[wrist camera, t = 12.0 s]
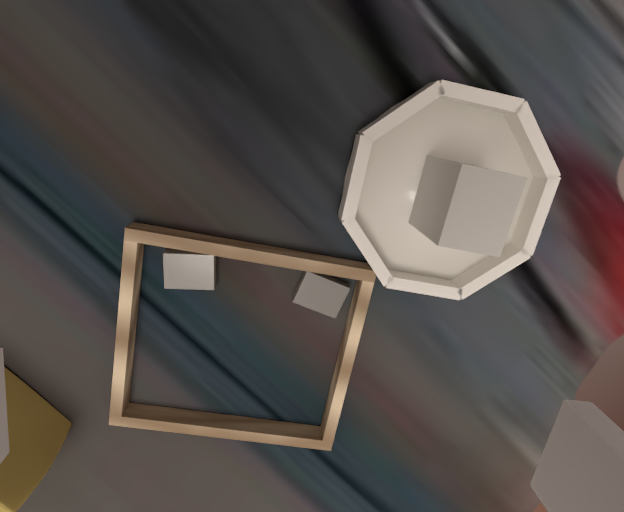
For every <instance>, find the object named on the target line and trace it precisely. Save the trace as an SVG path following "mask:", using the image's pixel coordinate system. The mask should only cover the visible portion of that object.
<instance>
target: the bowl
mask: <svg viewBox="0 0 624 512" xmlns="http://www.w3.org/2000/svg"><path fill="white" fill-rule="evenodd" d="M524 100H525V99H522V98H518V97H514V96H509V95H505V94H501V93H497V92H492V91H488V90H484V89H480V88H475V87H471V86H467V85H463V84H458V83H454V82H450V81H446V80H438V81H434V82H430V83H428V84H427V85H425V86H424V87H422V88H421V89H420V90H418V91H417V92H415V93H414V94H412V95H411V96H409V97H408V98H406V99H405V100H403V101H401V102H399V103H398V104H396V105H394V106H393V107H391V108H390V109H388V110H387V111H386V112H384V113H383V114H382V115H381V116H379V117H378V118H377V119H376V120H374V121H373V122H371V123H370V124H368V125H367V126H365V127H364V128H362V129H361V130H359V131H358V133H359V134H356V136H355V141H354V145H353V150H352V154H351V158H350V160H349V163H348V167H347V170H346V173H345V179H344V186H343V194H342V199H341V203H340V208H339V212H338V215H339V219H340V220H341V222H342V224H343V225H344V227H345V228H346V230H347V231H348V233H349V234H350V236H351V237H352V239H353V240H354V242H355V243H356V245H357V246H358V248H359V249H360V251H361V253H362V254H363V256H364V257H365V259H366V260H367V262H368V263H369V265H370V266H371V268H372V269H373V271H374V272H375V274H376V275H377V277H378V278H379V280H380V281H381V283H382V284H383V286H385V287H386V288H390V289H396V290H402V291H407V292H413V293H419V294H425V295H431V296H437V297H443V298H449V299H455V300H460V298H461V299H462V300H463V299H464V298H466V297H468V296H469V295H471V294H472V293H474V292H476V291H477V290H479V289H481V288H482V287H484V286H485V285H487V284H489V283H490V282H492V281H494V280H495V279H497V278H499V277H500V276H502V275H503V274H505V273H507V272H508V271H510V270H512V269H513V268H515V267H516V266H518V265H520V264H521V263H523V262H525V261H526V260H528V259H530V258H531V257H530V255H532V256H533V253H534V250H535V248H536V245H537V242H538V239H539V237H540V234H541V231H542V228H543V226H544V223H545V220H546V217H547V214H548V212H549V209H550V206H551V203H552V201H553V198H554V195H555V192H556V190H557V187H558V184H559V181H560V179H561V177H558V176H560V175H561V174H560V172H559V170H558V168H557V165H556V163H555V161H554V159H553V157H552V155H551V152H550V150H549V148H548V146H547V144H546V142H545V139H544V137H543V135H542V133H541V131H540V128H539V126H538V124H537V122H536V120H535V118H534V115H533V113H532V111H531V109H530V107H529V105H528V102H527V101H524ZM426 156H432V157H436V158H441V159H446V160H450V161H455V162H460V163H464V164H469V165H474V166H478V167H483V168H487V169H492V170H496V171H501V172H505V173H509V174H514V175H518V176H523V177H527V180H526V183H525V186H524V189H523V192H522V195H521V198H520V201H519V203H518V206H517V209H516V212H515V215H514V218H513V221H512V224H511V227H510V230H509V233H508V236H507V238H506V241H505V244H504V247H503V250H502V253H501V256H500V257H495V256H490V255H484V254H479V253H473V252H468V251H463V250H457V249H452V248H447V247H441V246H437V245H436V244H435V243H434V242H432V241H431V240H430V239H429V238H427V237H426V236H425V235H423V234H422V233H421V232H420V231H418V230H417V229H416V228H415V227H413V226H412V225H411V224H409V223H408V222H409V218H410V215H411V211H412V207H413V204H414V200H415V196H416V193H417V189H418V185H419V182H420V178H421V174H422V171H423V167H424V163H425V160H426Z"/></svg>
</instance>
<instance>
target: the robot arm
mask: <svg viewBox="0 0 624 512" xmlns="http://www.w3.org/2000/svg"><path fill="white" fill-rule="evenodd" d="M8 453H9V436H8V421H7V405H6V389H5V374H4V358H3V348H0V464H1V462H2V461H3V460H4V459H5V457H6V456H7V455H8ZM530 486H531V487H532V489H533V490H534V492H535V493H536V495H537V496H538V498H539V499H540V501H541V502H542V504H543V505H544V507H545V508H546V509H547V511H548V512H624V432H623V431H622V430H621V429H620V428H619V427H618V426H617V425H616V424H615V423H614V422H613V421H611V420H610V419H609V418H608V417H607V416H606V415H605V414H604V413H603V412H602V411H600V409H598V408H597V407H596V406H595V405H594V404H593V403H592V402H584V401H574V400H564V401H563V404H562V406H561V409H560V411H559V413H558V416H557V418H556V421H555V423H554V426H553V428H552V431H551V433H550V436H549V438H548V441H547V443H546V446H545V448H544V451H543V453H542V456H541V458H540V461H539V463H538V466H537V468H536V471H535V473H534V476H533V478H532V481H531V483H530Z"/></svg>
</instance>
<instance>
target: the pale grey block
mask: <svg viewBox="0 0 624 512" xmlns="http://www.w3.org/2000/svg"><path fill="white" fill-rule="evenodd" d="M526 180H527V177H523V176H518V175H514V174H509V173H505V172H501V171H496V170H492V169H487V168H483V167H478V166H474V165H469V164H464V163H460V162H455V161H450V160H446V159H441V158H436V157H432V156H426V160H425V163H424V167H423V171H422V174H421V178H420V182H419V185H418V189H417V193H416V196H415V200H414V204H413V207H412V211H411V215H410V218H409V222H408V223H409V224H411V225H412V226H413V227H415V228H416V229H417V230H418V231H420V232H421V233H422V234H423V235H425V236H426V237H427V238H429V239H430V240H431V241H432V242H434V243H435V244H436V245H437V246H441V247H447V248H452V249H457V250H463V251H468V252H473V253H479V254H484V255H490V256H495V257H500V256H501V253H502V250H503V247H504V244H505V241H506V238H507V236H508V233H509V230H510V227H511V224H512V221H513V218H514V215H515V212H516V209H517V206H518V203H519V201H520V198H521V195H522V192H523V189H524V186H525V183H526Z"/></svg>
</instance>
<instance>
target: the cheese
mask: <svg viewBox="0 0 624 512" xmlns="http://www.w3.org/2000/svg"><path fill="white" fill-rule="evenodd" d="M4 374H5V389H6V405H7V421H8V436H9V453H8V455H7V456H6V457H5V459H4V460H3V461H2V462H1V464H0V512H17V510H18V509H19V508H20V507H21V505H22V504H23V503H24V502H25V500H26V499H27V498H28V497H29V495H30V494H31V493H32V492H33V490H34V489H35V488H36V487H37V485H38V484H39V483H40V481H41V480H42V479H43V477H44V476H45V474H46V473H47V471H48V470H49V468H50V466H51V465H52V463H53V461H54V460H55V458H56V456H57V454H58V452H59V451H60V449H61V447H62V445H63V443H64V440H65V438H66V436H67V433H68V431H69V429H70V427H71V422H70V421H69V420H68V419H67V418H65V417H64V416H63V415H62V414H61V413H59V412H58V411H57V410H56V409H55V408H54V407H53V406H51V405H50V404H49V403H48V402H47V401H46V400H44V399H43V398H42V397H41V396H40V395H39V394H37V393H36V392H35V391H34V390H33V389H31V388H30V387H29V386H28V385H27V384H25V383H24V382H23V381H22V380H20V379H19V378H18V377H17V376H15V375H14V374H13V373H12V372H10V371H9V370H8V369H7V368H6V367H4Z"/></svg>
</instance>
